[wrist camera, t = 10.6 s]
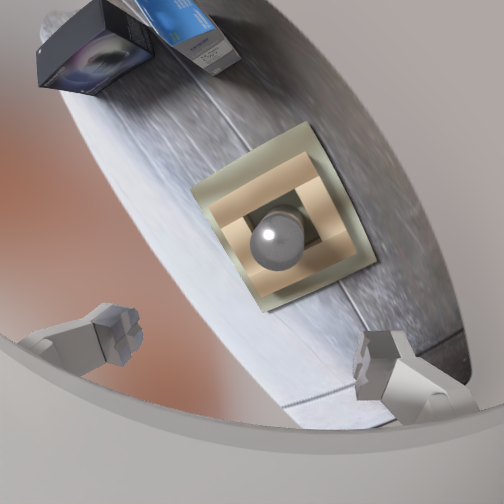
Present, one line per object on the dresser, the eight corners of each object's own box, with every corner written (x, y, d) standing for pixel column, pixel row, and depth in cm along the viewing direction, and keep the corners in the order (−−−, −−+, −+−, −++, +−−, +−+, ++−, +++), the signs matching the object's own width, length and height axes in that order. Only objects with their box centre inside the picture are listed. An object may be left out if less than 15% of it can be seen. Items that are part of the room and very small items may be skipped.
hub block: (192, 188, 29) (179, 191, 26) (306, 122, 25) (306, 116, 22) (263, 309, 32) (259, 324, 29) (375, 258, 28) (383, 269, 25)
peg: (264, 203, 28) (249, 217, 20) (304, 204, 27) (305, 219, 19) (264, 241, 29) (249, 269, 21) (303, 243, 28) (302, 272, 21)
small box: (93, 99, 28) (35, 90, 18) (87, 65, 26) (34, 51, 17) (157, 58, 25) (104, 28, 15) (146, 24, 24) (99, -8, 14)
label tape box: (243, 60, 24) (204, 4, 12) (210, 79, 25) (155, 36, 14) (206, 13, 22) (160, -41, 11) (177, 31, 24) (121, -14, 12)
